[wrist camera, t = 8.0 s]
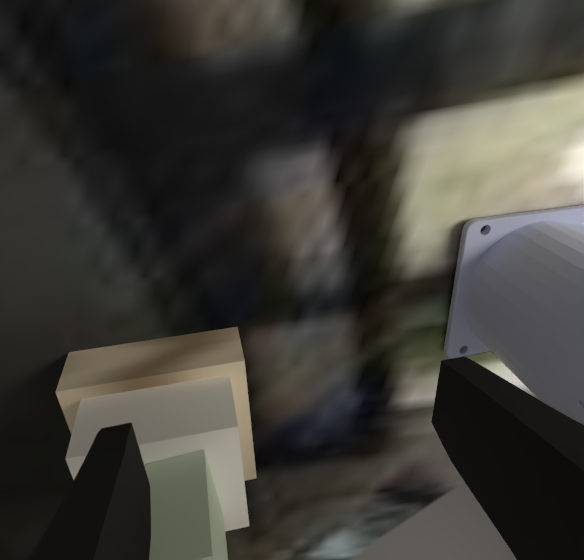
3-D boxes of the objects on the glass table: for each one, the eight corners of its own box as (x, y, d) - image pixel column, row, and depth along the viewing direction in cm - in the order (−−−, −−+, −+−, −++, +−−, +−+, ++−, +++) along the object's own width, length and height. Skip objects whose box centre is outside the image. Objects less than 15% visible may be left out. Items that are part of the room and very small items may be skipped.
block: (204, 449, 17) (212, 555, 13) (223, 513, 19) (234, 620, 15) (93, 477, 16) (72, 596, 13) (125, 540, 18) (114, 657, 15)
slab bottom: (236, 322, 22) (244, 360, 19) (248, 433, 25) (256, 478, 23) (70, 346, 20) (55, 391, 18) (108, 460, 24) (100, 511, 21)
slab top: (229, 374, 19) (238, 426, 17) (240, 469, 22) (249, 526, 20) (80, 399, 18) (65, 458, 16) (113, 495, 21) (104, 559, 18)
